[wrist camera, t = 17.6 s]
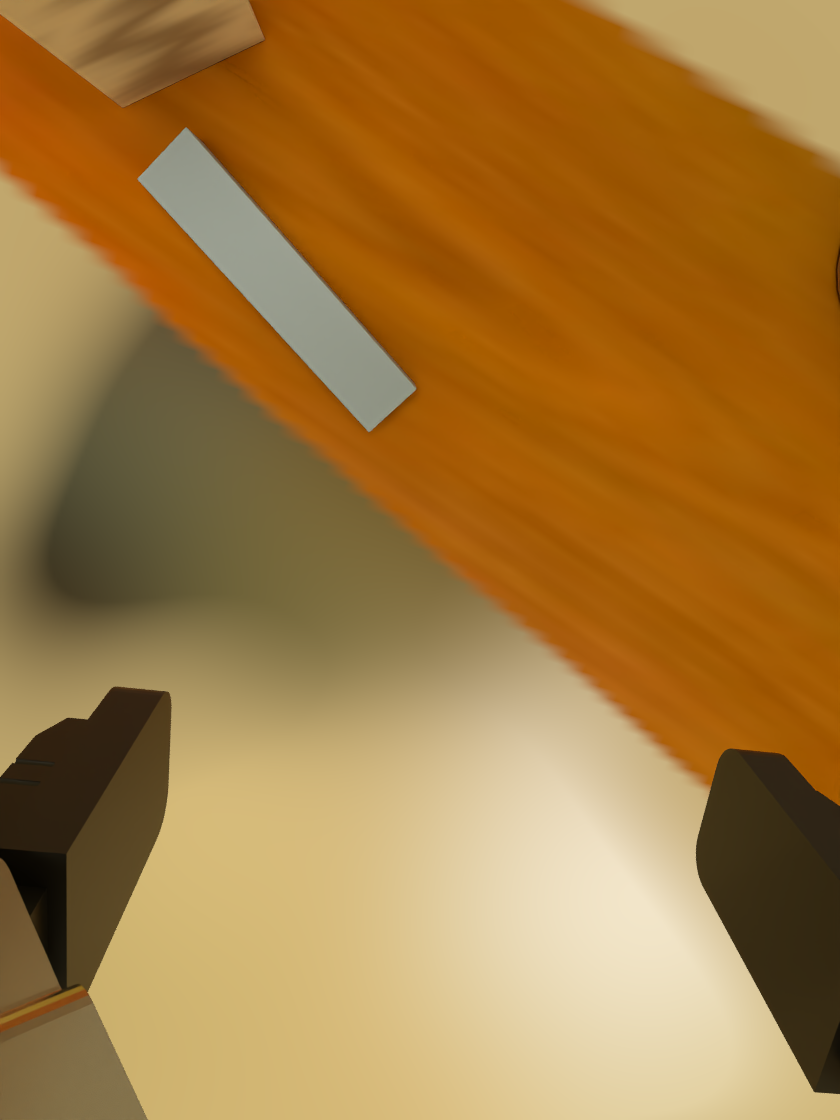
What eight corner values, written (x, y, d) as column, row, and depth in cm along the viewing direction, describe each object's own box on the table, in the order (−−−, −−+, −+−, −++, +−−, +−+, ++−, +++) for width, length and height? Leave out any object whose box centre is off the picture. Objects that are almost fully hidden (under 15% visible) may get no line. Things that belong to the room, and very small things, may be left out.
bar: (202, 141, 36) (186, 127, 33) (414, 383, 40) (416, 389, 37) (157, 189, 37) (137, 179, 34) (370, 423, 40) (368, 432, 37)
